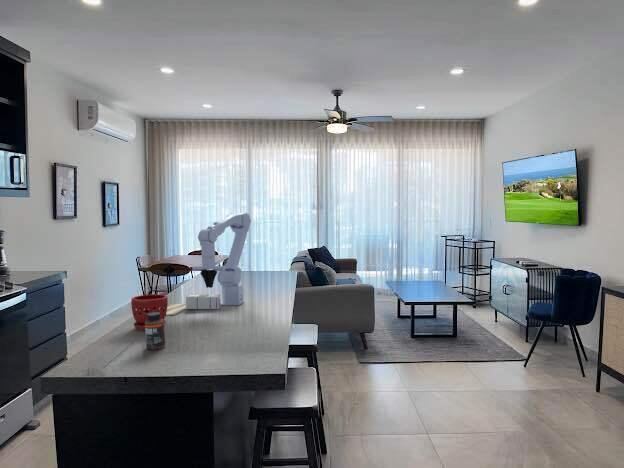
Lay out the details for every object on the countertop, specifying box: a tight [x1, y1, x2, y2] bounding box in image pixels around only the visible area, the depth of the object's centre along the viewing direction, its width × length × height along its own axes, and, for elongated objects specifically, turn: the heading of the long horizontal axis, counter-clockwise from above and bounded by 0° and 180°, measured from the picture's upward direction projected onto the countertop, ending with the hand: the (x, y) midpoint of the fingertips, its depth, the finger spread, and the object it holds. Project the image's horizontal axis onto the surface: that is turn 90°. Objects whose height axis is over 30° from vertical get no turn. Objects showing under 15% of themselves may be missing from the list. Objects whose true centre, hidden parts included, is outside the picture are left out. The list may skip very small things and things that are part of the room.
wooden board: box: [165, 303, 188, 317], centre depth 204 cm, size 12×20×1 cm, turn 169°
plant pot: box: [130, 294, 169, 331], centre depth 175 cm, size 13×13×12 cm
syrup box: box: [185, 293, 221, 310], centre depth 205 cm, size 6×6×14 cm
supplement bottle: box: [144, 312, 166, 351], centre depth 149 cm, size 6×6×11 cm
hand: (209, 287), depth 200 cm, fingers closed
